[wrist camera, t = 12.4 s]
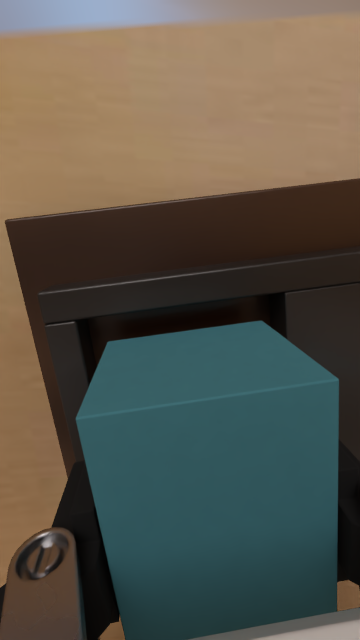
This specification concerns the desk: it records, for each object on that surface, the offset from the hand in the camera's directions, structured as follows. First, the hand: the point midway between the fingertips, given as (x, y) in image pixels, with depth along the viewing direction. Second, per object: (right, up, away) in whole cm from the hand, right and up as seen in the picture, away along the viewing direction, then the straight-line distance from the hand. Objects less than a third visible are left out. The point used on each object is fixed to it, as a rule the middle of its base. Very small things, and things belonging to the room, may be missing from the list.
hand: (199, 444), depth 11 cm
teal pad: (0, 0, 0) cm, 0 cm away
